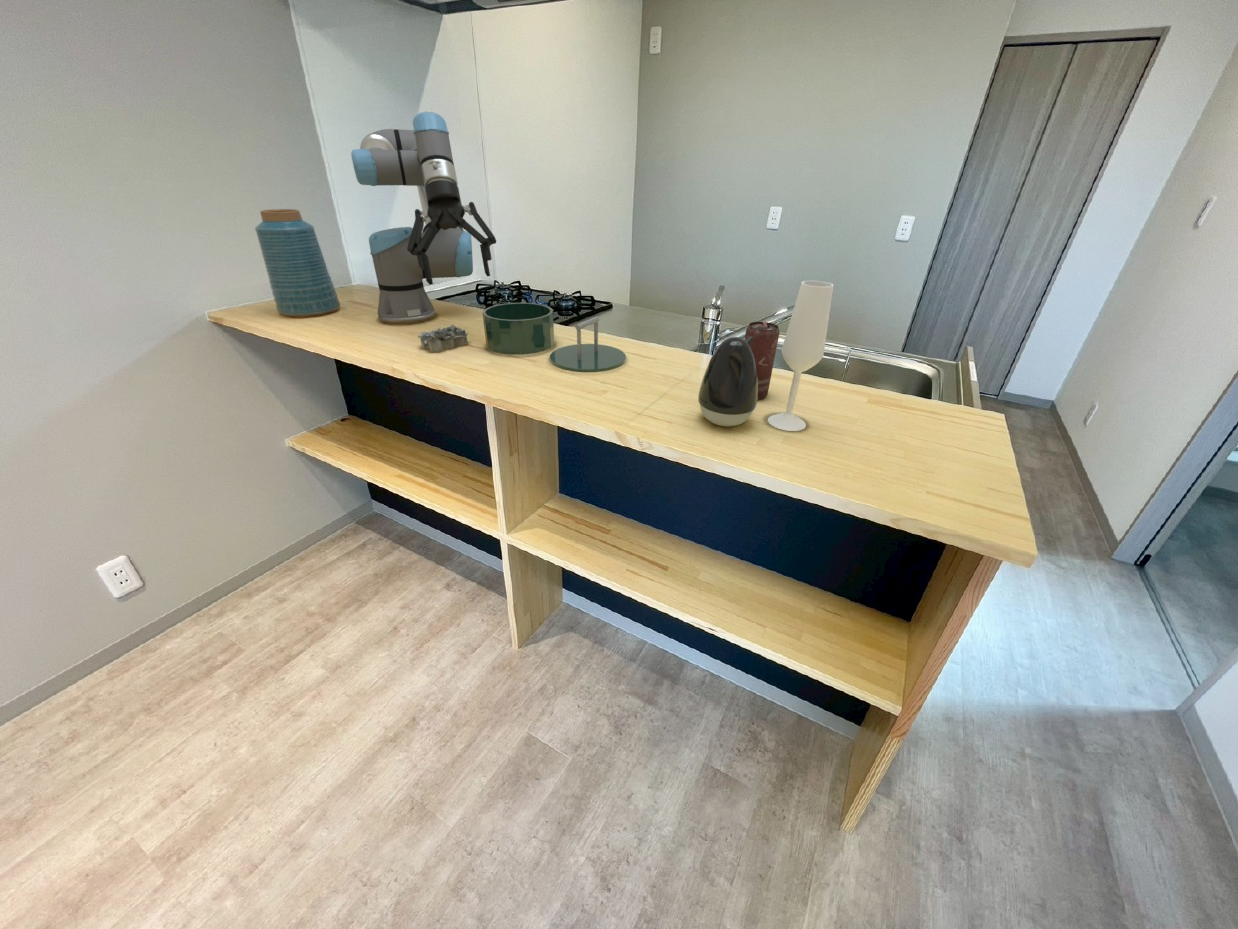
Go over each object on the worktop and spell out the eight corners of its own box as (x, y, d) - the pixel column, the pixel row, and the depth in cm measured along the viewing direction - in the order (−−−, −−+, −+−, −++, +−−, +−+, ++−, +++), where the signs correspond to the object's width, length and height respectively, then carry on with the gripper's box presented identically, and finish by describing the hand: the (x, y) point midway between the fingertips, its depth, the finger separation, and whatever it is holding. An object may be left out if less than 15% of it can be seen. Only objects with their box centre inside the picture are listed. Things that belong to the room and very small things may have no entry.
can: (764, 388, 102) (777, 320, 94) (769, 401, 96) (783, 330, 89) (734, 386, 102) (745, 319, 95) (738, 399, 97) (749, 328, 90)
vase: (332, 317, 140) (302, 213, 126) (269, 319, 137) (231, 213, 123) (347, 303, 154) (322, 208, 140) (291, 305, 151) (259, 207, 137)
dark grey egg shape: (764, 419, 89) (780, 337, 81) (733, 439, 83) (747, 351, 75) (716, 403, 95) (727, 324, 87) (684, 420, 89) (692, 337, 81)
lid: (534, 364, 111) (531, 323, 106) (578, 344, 124) (577, 306, 119) (600, 380, 104) (600, 337, 99) (639, 357, 117) (640, 317, 112)
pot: (472, 348, 120) (467, 313, 115) (517, 332, 132) (514, 299, 128) (525, 361, 113) (522, 324, 108) (567, 342, 125) (566, 308, 121)
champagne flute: (764, 413, 92) (790, 278, 79) (800, 414, 91) (832, 280, 79) (772, 430, 86) (801, 287, 73) (810, 431, 86) (847, 289, 73)
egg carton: (433, 354, 116) (430, 337, 114) (417, 347, 120) (414, 330, 118) (472, 344, 123) (470, 327, 120) (456, 337, 127) (453, 321, 125)
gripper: (380, 185, 110) (399, 281, 111) (492, 171, 111) (509, 265, 113) (393, 201, 117) (410, 291, 119) (497, 187, 119) (513, 276, 120)
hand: (458, 278), depth 116 cm, fingers open, 13 cm apart
